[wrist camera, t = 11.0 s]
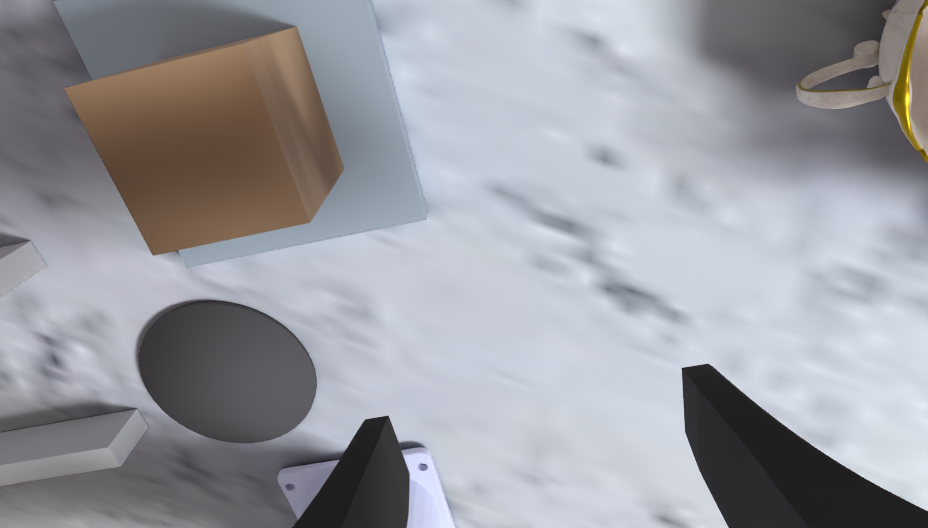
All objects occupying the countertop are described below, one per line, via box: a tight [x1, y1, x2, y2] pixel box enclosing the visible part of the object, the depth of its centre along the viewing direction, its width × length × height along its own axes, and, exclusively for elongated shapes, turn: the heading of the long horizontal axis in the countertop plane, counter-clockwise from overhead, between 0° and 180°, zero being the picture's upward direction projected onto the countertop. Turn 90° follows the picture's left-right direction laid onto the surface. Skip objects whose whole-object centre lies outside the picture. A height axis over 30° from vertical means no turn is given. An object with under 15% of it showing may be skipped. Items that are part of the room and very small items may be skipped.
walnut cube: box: [64, 26, 344, 256], centre depth 18 cm, size 5×5×5 cm
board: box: [53, 0, 428, 268], centre depth 20 cm, size 10×10×1 cm
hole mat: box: [139, 302, 317, 443], centre depth 26 cm, size 8×8×1 cm
